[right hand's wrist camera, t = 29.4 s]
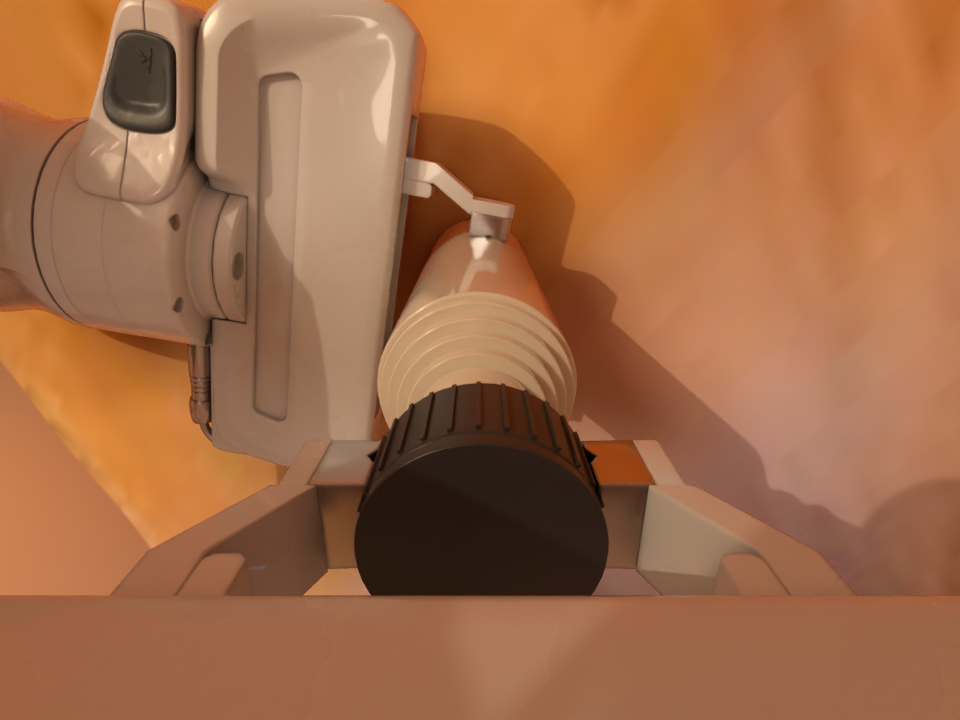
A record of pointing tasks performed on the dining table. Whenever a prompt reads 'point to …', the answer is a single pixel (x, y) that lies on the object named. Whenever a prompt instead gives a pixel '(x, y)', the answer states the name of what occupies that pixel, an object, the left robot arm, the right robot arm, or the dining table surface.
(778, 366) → the dining table surface
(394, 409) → the bottle
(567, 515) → the cap
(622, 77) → the dining table surface
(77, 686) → the right robot arm
